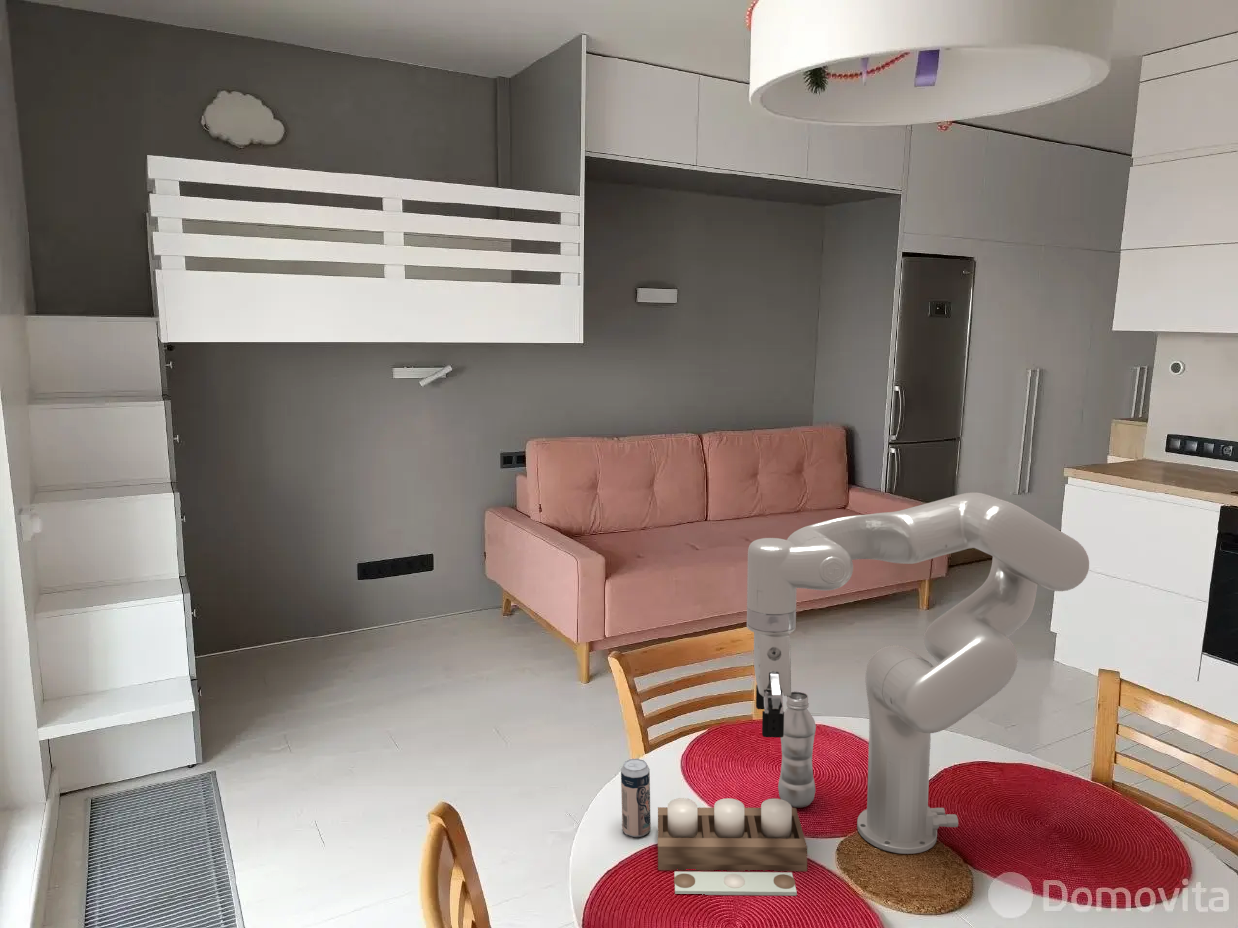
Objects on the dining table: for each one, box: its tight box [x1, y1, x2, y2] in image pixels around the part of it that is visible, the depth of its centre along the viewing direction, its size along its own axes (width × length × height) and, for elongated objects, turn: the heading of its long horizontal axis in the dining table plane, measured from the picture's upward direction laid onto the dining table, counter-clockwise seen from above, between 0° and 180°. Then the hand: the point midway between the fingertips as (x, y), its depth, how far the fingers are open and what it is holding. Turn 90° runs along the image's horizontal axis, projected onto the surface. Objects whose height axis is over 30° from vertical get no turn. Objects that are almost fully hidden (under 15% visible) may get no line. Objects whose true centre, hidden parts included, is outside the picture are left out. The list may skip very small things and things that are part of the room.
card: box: [673, 870, 798, 897], centre depth 129 cm, size 18×5×1 cm, turn 87°
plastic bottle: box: [777, 690, 817, 808], centre depth 150 cm, size 6×7×20 cm
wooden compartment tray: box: [657, 806, 808, 872], centre depth 138 cm, size 23×11×4 cm, turn 87°
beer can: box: [620, 758, 652, 838], centre depth 143 cm, size 5×5×12 cm
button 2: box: [760, 798, 793, 839], centre depth 137 cm, size 5×5×4 cm
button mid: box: [713, 797, 745, 838], centre depth 137 cm, size 5×5×4 cm
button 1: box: [667, 797, 698, 838], centre depth 138 cm, size 5×5×4 cm
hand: (769, 721), depth 135 cm, fingers open, 9 cm apart
